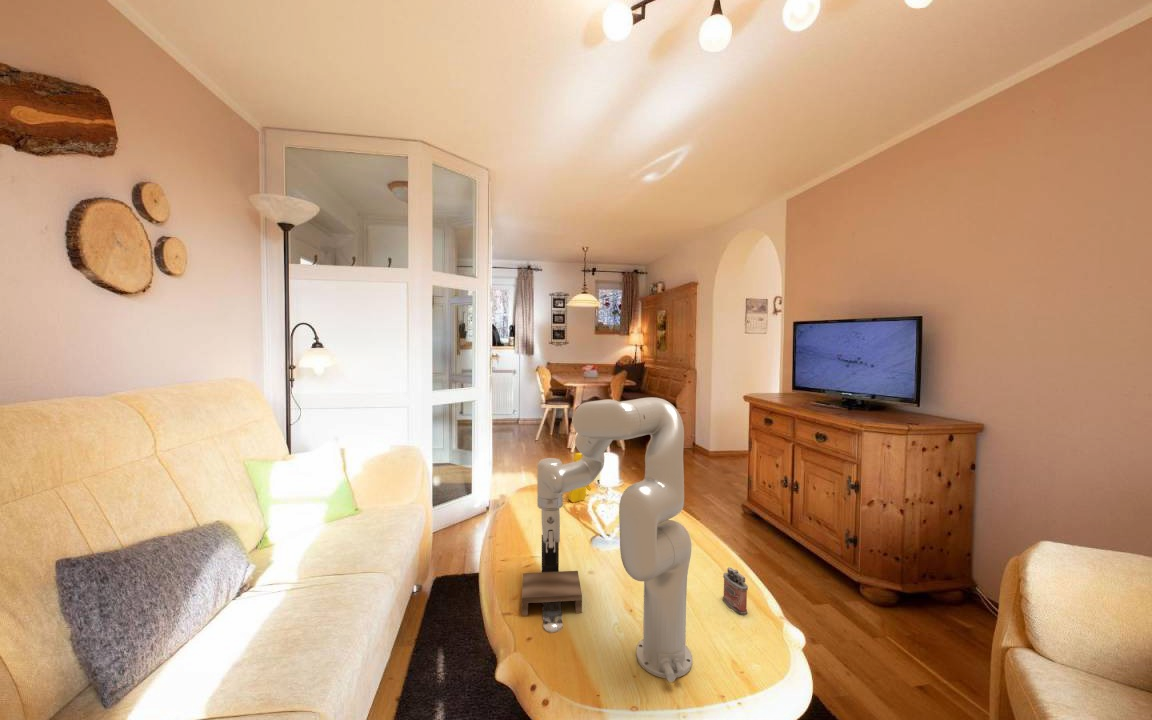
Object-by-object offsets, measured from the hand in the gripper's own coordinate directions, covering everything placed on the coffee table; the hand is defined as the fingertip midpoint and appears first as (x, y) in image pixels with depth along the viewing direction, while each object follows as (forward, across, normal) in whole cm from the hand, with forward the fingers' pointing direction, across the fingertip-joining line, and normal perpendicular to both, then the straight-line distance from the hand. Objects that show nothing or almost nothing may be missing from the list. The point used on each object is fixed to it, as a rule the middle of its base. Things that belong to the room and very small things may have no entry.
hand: (550, 559), depth 130 cm
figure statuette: (+7, +64, -14) cm, 66 cm away
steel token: (+7, -20, 0) cm, 21 cm away
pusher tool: (+7, -8, 0) cm, 11 cm away
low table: (+7, -10, 0) cm, 12 cm away
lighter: (+7, -16, -50) cm, 53 cm away
